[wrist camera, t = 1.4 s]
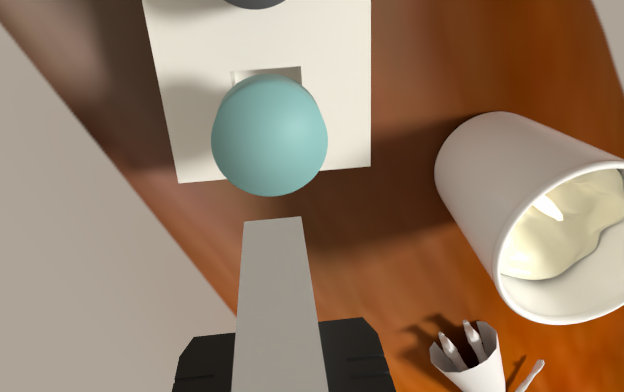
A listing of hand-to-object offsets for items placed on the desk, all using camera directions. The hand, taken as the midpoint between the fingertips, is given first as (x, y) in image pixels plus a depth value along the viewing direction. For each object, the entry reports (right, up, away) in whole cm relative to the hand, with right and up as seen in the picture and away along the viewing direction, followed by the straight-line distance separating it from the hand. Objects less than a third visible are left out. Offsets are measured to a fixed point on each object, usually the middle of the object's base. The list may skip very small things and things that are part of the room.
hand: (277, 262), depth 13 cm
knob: (-2, +7, +14) cm, 16 cm away
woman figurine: (+17, -15, +32) cm, 39 cm away
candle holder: (+14, +4, +22) cm, 27 cm away
